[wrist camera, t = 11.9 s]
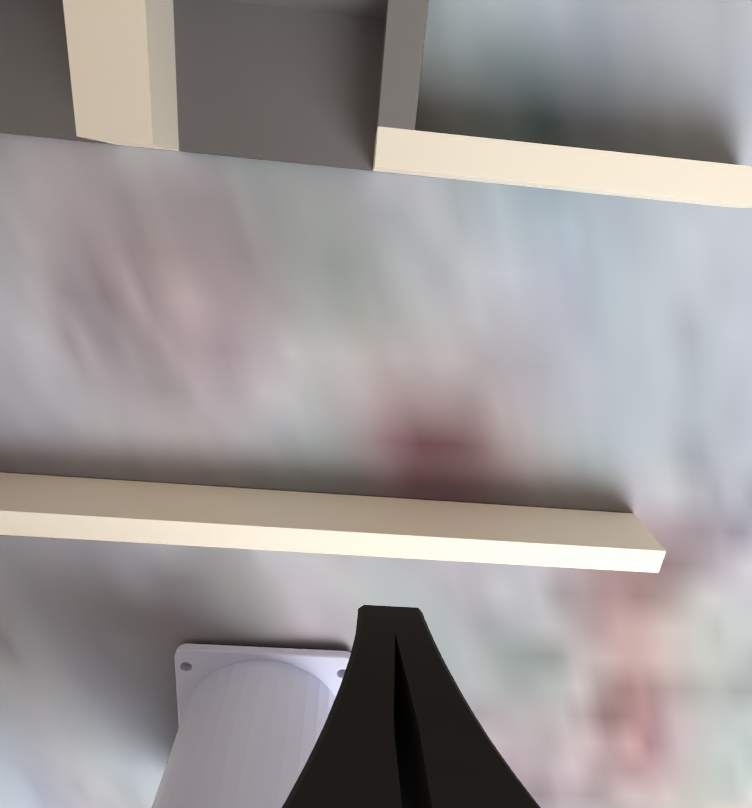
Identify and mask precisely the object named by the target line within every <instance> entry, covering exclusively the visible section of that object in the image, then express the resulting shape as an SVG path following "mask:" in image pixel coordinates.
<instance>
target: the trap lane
mask: <svg viewBox="0 0 752 808" xmlns="http://www.w3.org/2000/svg"><path fill="white" fill-rule="evenodd" d="M428 1H429V0H0V133H7V134H16V135H26V136H36V137H46V138H56V139H65V140H75V141H85V142H95V143H105V144H114V145H124V146H134V147H144V148H154V149H164V150H173V151H183V152H193V153H203V154H213V155H222V156H232V157H242V158H252V159H262V160H271V161H281V162H291V163H301V164H311V165H321V166H330V167H340V168H350V169H360V170H370V171H379V172H389V173H399V174H409V175H419V176H428V177H438V178H448V179H458V180H468V181H478V182H487V183H497V184H507V185H517V186H527V187H536V188H546V189H556V190H566V191H576V192H585V193H595V194H605V195H615V196H625V197H635V198H644V199H654V200H664V201H674V202H684V203H693V204H703V205H713V206H723V207H738V208H752V166H744V165H734V164H725V163H716V162H706V161H697V160H688V159H678V158H669V157H660V156H650V155H641V154H631V153H622V152H613V151H603V150H594V149H585V148H575V147H566V146H557V145H547V144H538V143H529V142H519V141H510V140H501V139H491V138H482V137H473V136H463V135H454V134H445V133H435V132H426V131H417V130H415V123H416V114H417V104H418V95H419V85H420V76H421V67H422V57H423V48H424V38H425V29H426V19H427V10H428ZM0 535H15V536H32V537H50V538H67V539H84V540H101V541H119V542H136V543H153V544H170V545H187V546H205V547H222V548H239V549H256V550H274V551H291V552H308V553H325V554H342V555H360V556H377V557H394V558H411V559H429V560H446V561H463V562H480V563H497V564H515V565H532V566H549V567H566V568H583V569H601V570H618V571H635V572H652V573H659V570H660V567H661V564H662V562H663V559H664V556H665V553H666V550H665V549H664V548H663V547H662V546H661V544H660V543H659V542H658V541H657V540H656V539H655V537H654V536H653V535H652V534H651V533H650V532H649V531H648V529H647V528H646V527H645V526H644V525H643V524H642V522H641V521H640V520H639V519H638V518H637V517H636V515H635V514H634V513H618V512H603V511H587V510H572V509H557V508H541V507H526V506H510V505H495V504H480V503H464V502H449V501H433V500H418V499H402V498H387V497H372V496H356V495H341V494H325V493H310V492H295V491H279V490H264V489H248V488H233V487H217V486H202V485H187V484H171V483H156V482H140V481H125V480H110V479H94V478H79V477H63V476H48V475H32V474H17V473H2V472H0Z"/></svg>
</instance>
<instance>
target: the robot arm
mask: <svg viewBox="0 0 752 808" xmlns="http://www.w3.org/2000/svg"><path fill="white" fill-rule="evenodd" d="M174 659H175V675H176V691H177V708H178V724H179V729H178V732H177V735H176V738H175V741H174V744H173V747H172V750H171V753H170V755H169V758H168V761H167V764H166V767H165V770H164V773H163V776H162V779H161V782H160V785H159V788H158V791H157V794H156V797H155V800H154V803H153V805H152V808H540V806H539V805H538V804H537V803H536V801H535V800H534V799H533V798H532V796H531V795H530V794H529V792H528V791H527V790H526V788H525V787H524V786H523V785H522V783H521V782H520V781H519V779H518V778H517V777H516V775H515V774H514V773H513V771H512V770H511V769H510V767H509V766H508V764H507V763H506V762H505V760H504V759H503V758H502V756H501V755H500V753H499V752H498V750H497V749H496V747H495V746H494V745H493V743H492V742H491V740H490V739H489V737H488V736H487V734H486V732H485V731H484V729H483V728H482V726H481V725H480V723H479V721H478V720H477V718H476V717H475V715H474V713H473V712H472V710H471V709H470V707H469V705H468V704H467V702H466V700H465V698H464V697H463V695H462V693H461V691H460V690H459V688H458V686H457V684H456V682H455V681H454V679H453V677H452V675H451V673H450V672H449V670H448V668H447V666H446V664H445V662H444V660H443V658H442V656H441V654H440V652H439V650H438V648H437V646H436V644H435V642H434V640H433V637H432V635H431V633H430V631H429V628H428V626H427V624H426V621H425V619H424V616H423V614H422V612H421V611H420V610H419V608H410V607H391V606H372V605H363V606H362V607H360V608H359V609H358V618H357V627H356V635H355V640H354V643H353V647H352V651H351V653H350V652H347V651H336V650H315V649H294V648H272V647H251V646H230V645H209V644H182V645H180V646H179V647H178V648H177V650H176V653H175V656H174ZM185 662H187V663H189V664H187V663H185ZM342 669H344V670H345V671H341V670H342Z"/></svg>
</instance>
